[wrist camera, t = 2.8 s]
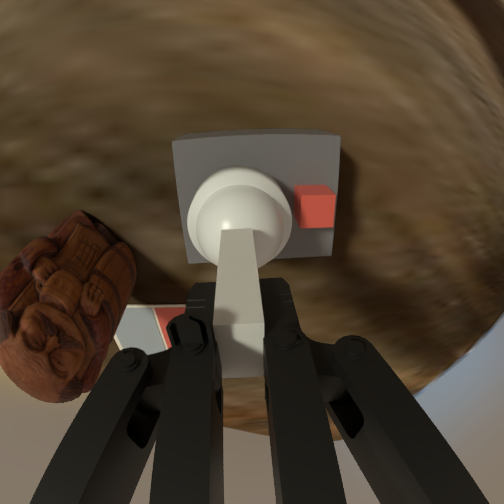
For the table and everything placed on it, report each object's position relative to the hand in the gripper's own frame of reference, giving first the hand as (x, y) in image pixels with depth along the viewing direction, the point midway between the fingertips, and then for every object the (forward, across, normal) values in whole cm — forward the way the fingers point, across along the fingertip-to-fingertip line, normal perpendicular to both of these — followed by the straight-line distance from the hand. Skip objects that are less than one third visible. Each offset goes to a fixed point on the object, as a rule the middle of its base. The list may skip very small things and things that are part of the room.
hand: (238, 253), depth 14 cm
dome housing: (+12, +2, 0) cm, 12 cm away
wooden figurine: (+13, -15, -6) cm, 21 cm away
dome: (+6, 0, 0) cm, 6 cm away
